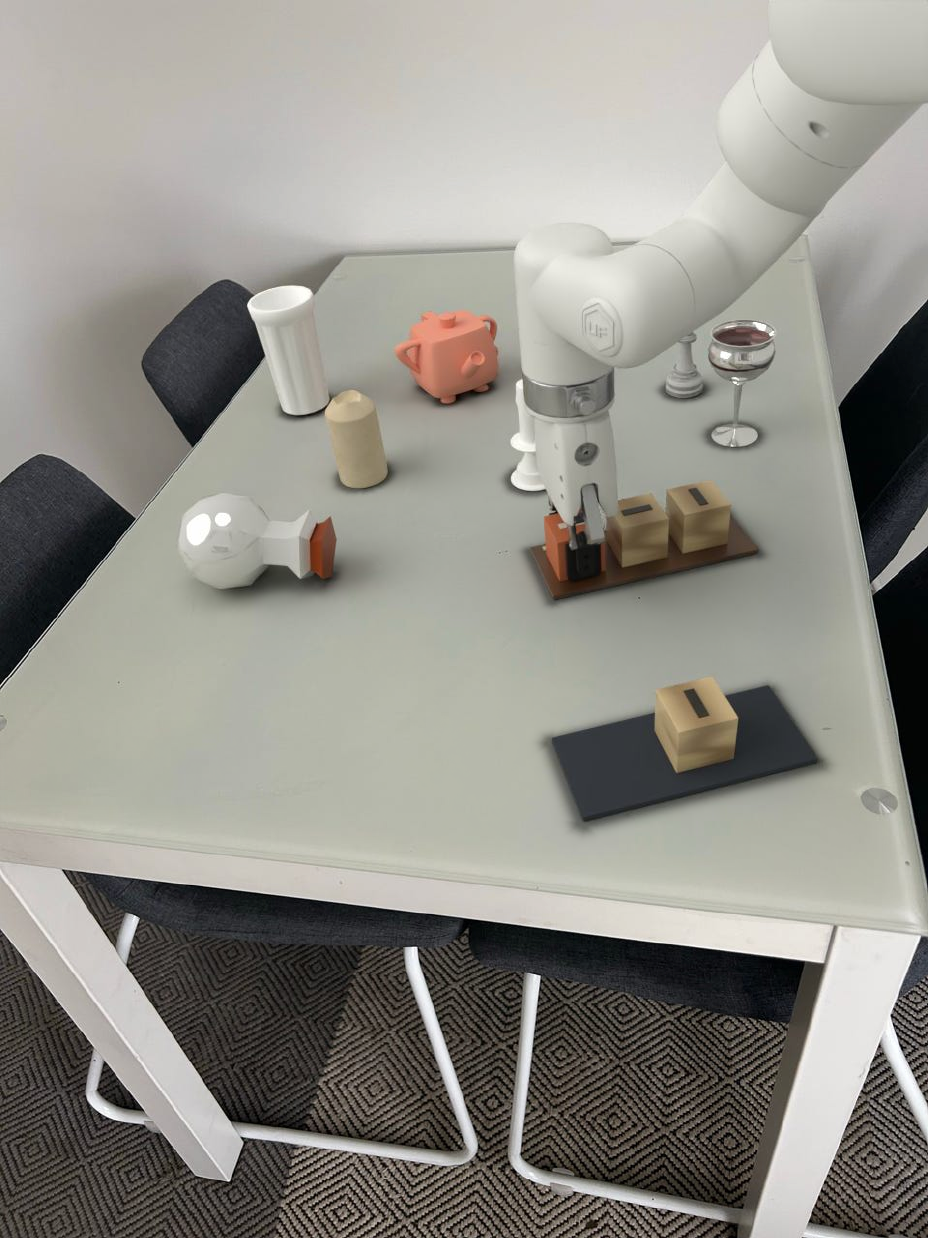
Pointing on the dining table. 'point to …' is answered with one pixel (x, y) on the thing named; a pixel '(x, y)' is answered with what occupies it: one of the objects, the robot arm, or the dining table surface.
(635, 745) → the near mat
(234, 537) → the potion bottle
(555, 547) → the orange striped cube
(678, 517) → the tan wooden block
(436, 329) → the teapot
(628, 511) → the far letter i
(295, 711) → the dining table surface
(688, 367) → the chess piece
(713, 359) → the wineglass
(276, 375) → the cup
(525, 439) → the candle
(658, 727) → the tan block
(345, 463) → the candle
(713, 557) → the far board
